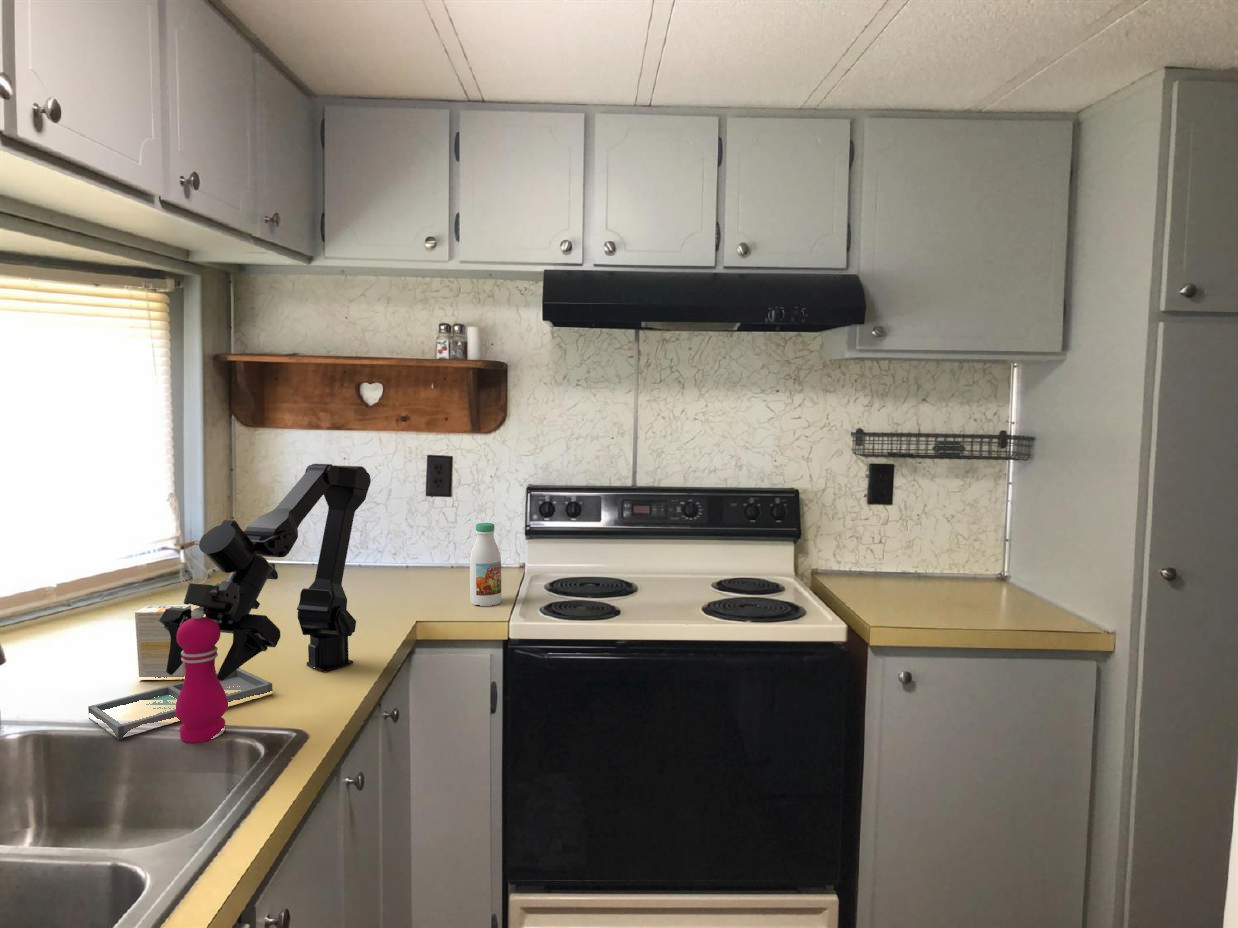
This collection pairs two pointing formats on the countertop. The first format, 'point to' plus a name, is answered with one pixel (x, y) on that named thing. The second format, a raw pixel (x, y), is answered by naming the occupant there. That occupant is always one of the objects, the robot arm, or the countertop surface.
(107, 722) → the sorting tray
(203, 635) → the pepper mill
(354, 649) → the countertop surface
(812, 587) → the countertop surface
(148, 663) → the supplement box
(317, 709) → the countertop surface
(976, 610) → the countertop surface
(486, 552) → the milk bottle
